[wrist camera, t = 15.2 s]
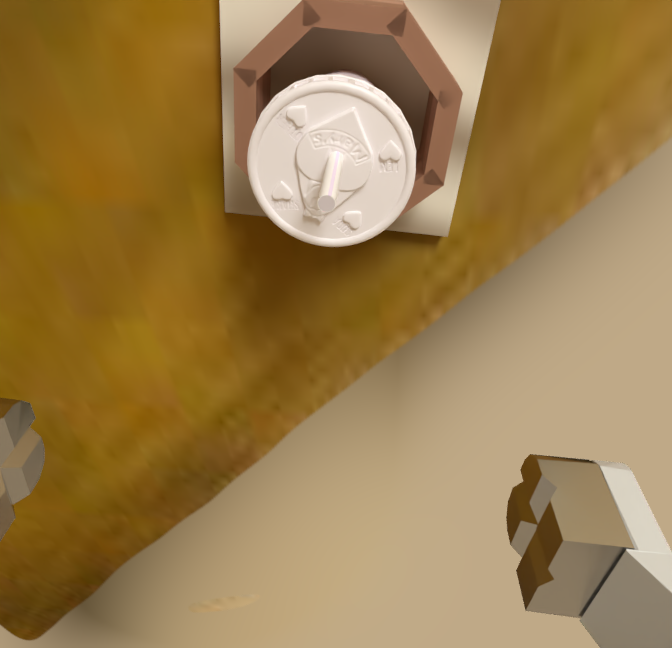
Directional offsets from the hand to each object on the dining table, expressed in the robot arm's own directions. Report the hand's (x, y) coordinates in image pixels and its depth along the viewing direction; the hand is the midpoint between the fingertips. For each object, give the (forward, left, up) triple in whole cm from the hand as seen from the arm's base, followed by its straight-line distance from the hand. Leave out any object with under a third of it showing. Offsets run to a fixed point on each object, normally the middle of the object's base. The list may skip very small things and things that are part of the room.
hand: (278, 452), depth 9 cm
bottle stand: (0, 0, -24) cm, 24 cm away
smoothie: (0, 0, -24) cm, 24 cm away
